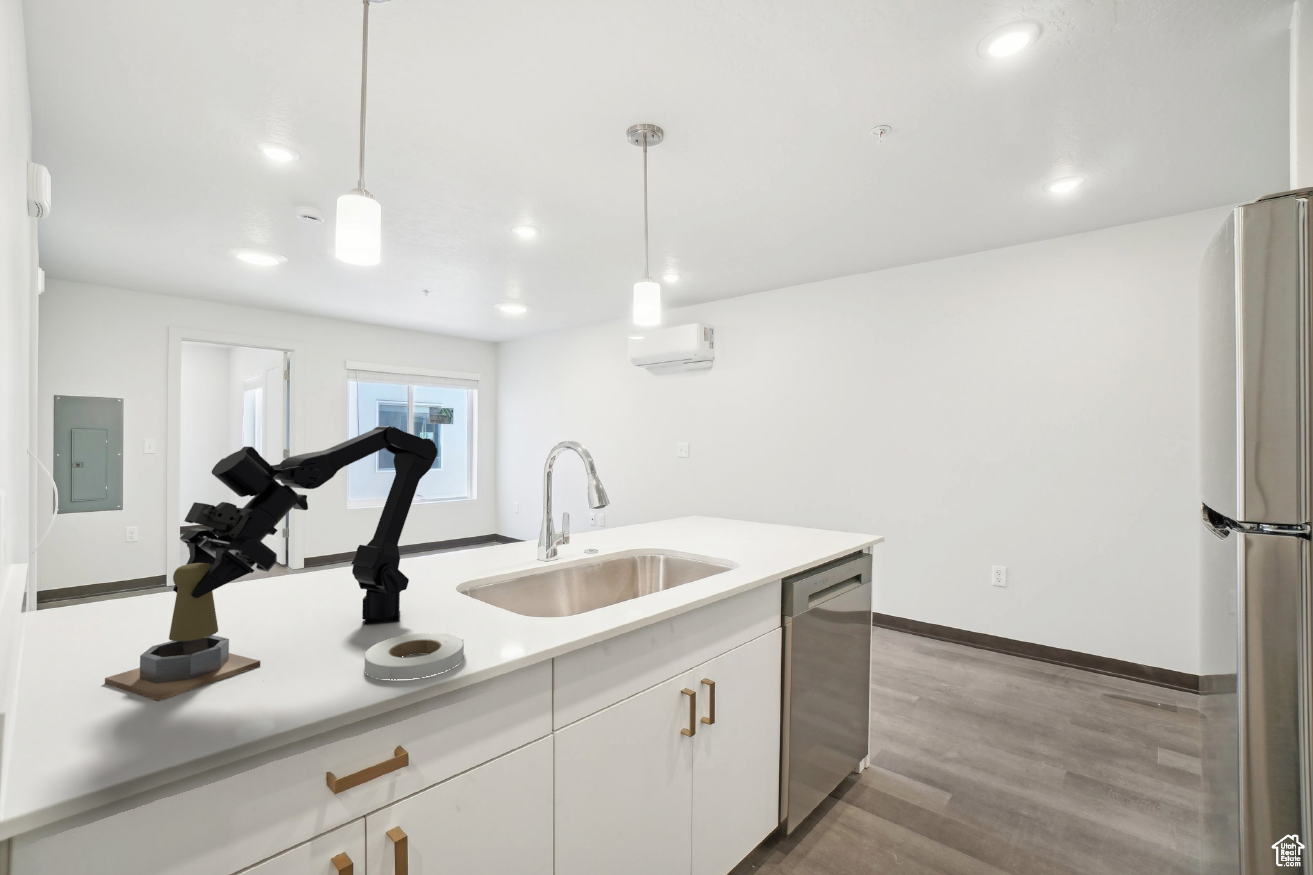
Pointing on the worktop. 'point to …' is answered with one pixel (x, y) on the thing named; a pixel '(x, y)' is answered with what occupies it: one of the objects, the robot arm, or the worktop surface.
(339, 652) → the worktop surface
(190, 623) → the cork
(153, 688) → the walnut plate
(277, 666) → the worktop surface
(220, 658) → the metal collar
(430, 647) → the roll of tape
